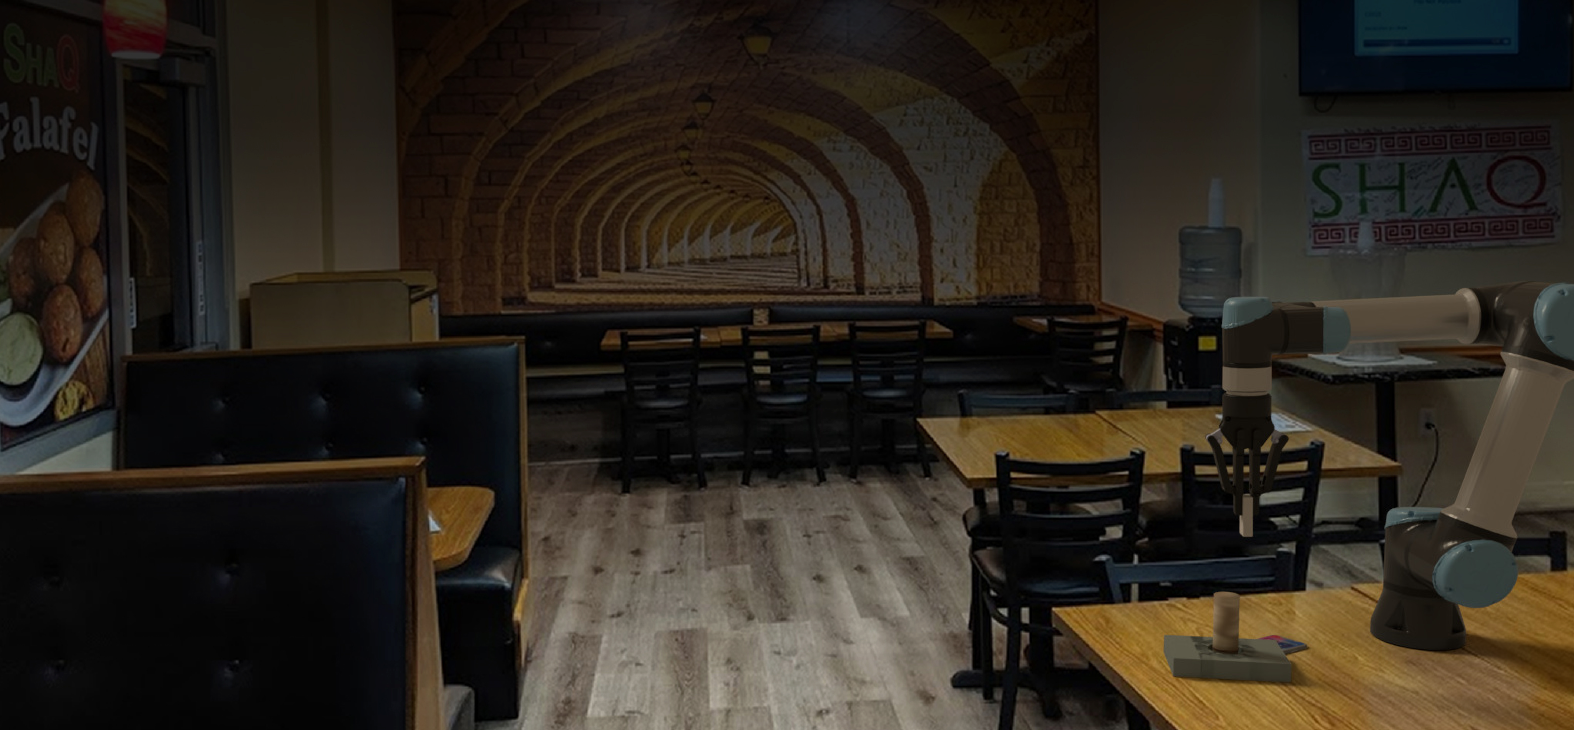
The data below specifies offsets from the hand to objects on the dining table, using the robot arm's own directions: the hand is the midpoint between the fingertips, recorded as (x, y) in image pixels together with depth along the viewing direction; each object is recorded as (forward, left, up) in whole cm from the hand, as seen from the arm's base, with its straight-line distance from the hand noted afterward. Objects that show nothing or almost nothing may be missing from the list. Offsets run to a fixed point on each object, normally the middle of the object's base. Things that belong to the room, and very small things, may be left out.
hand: (1246, 534), depth 209 cm
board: (+3, +3, -22) cm, 22 cm away
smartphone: (-5, -7, -22) cm, 24 cm away
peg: (+3, +3, -22) cm, 22 cm away
